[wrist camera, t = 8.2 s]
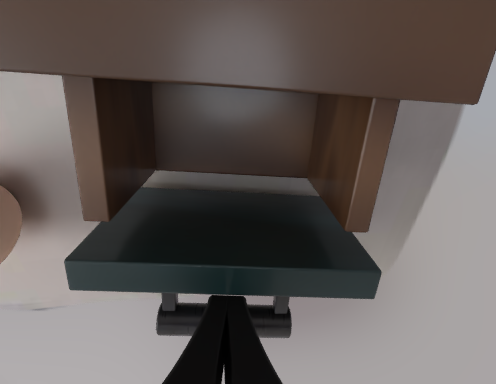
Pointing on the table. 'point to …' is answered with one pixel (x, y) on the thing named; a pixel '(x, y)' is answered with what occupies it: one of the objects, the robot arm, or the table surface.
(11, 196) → the egg
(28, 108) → the table surface
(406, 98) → the cabinet
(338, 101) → the drawer
